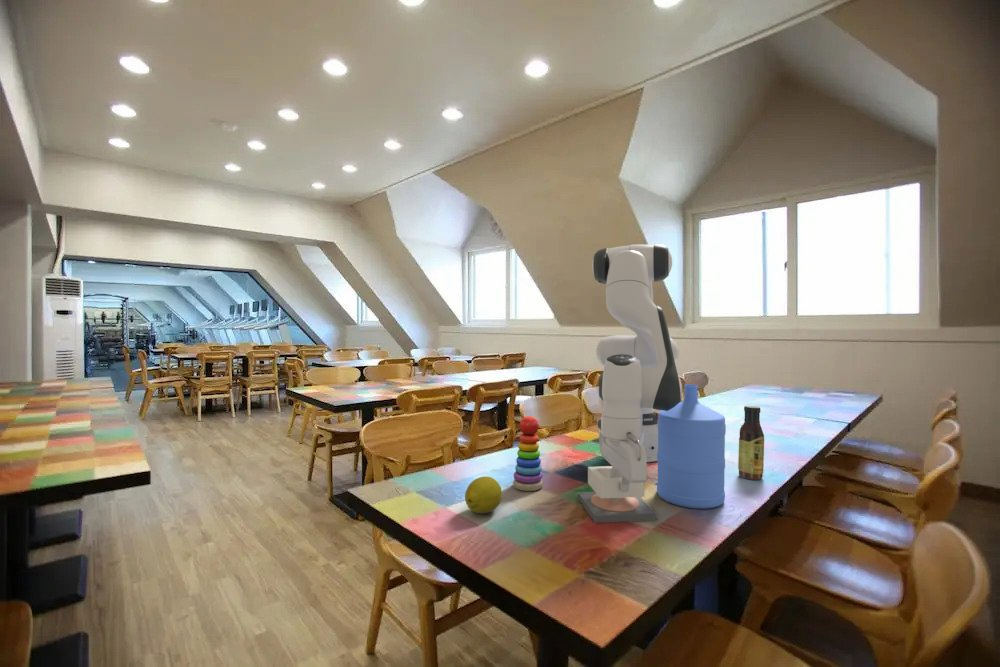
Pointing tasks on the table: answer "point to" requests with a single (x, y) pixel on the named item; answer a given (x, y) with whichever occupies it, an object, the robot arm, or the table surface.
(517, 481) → the stacking toy
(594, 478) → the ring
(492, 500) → the lemon
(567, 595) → the table surface
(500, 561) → the table surface
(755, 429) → the sauce bottle
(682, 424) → the water jug
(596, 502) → the rod stand
